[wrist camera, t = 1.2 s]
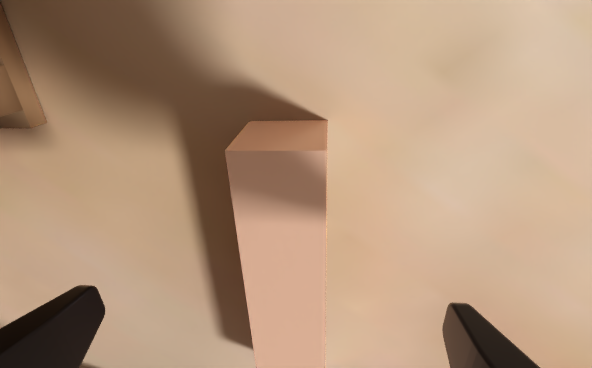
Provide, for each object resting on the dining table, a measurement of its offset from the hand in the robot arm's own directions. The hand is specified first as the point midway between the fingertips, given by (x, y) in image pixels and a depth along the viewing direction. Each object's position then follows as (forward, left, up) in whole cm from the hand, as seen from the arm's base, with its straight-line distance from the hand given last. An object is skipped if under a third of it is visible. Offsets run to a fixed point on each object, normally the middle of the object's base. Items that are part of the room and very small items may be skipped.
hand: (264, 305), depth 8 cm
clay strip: (-4, 0, -6) cm, 7 cm away
